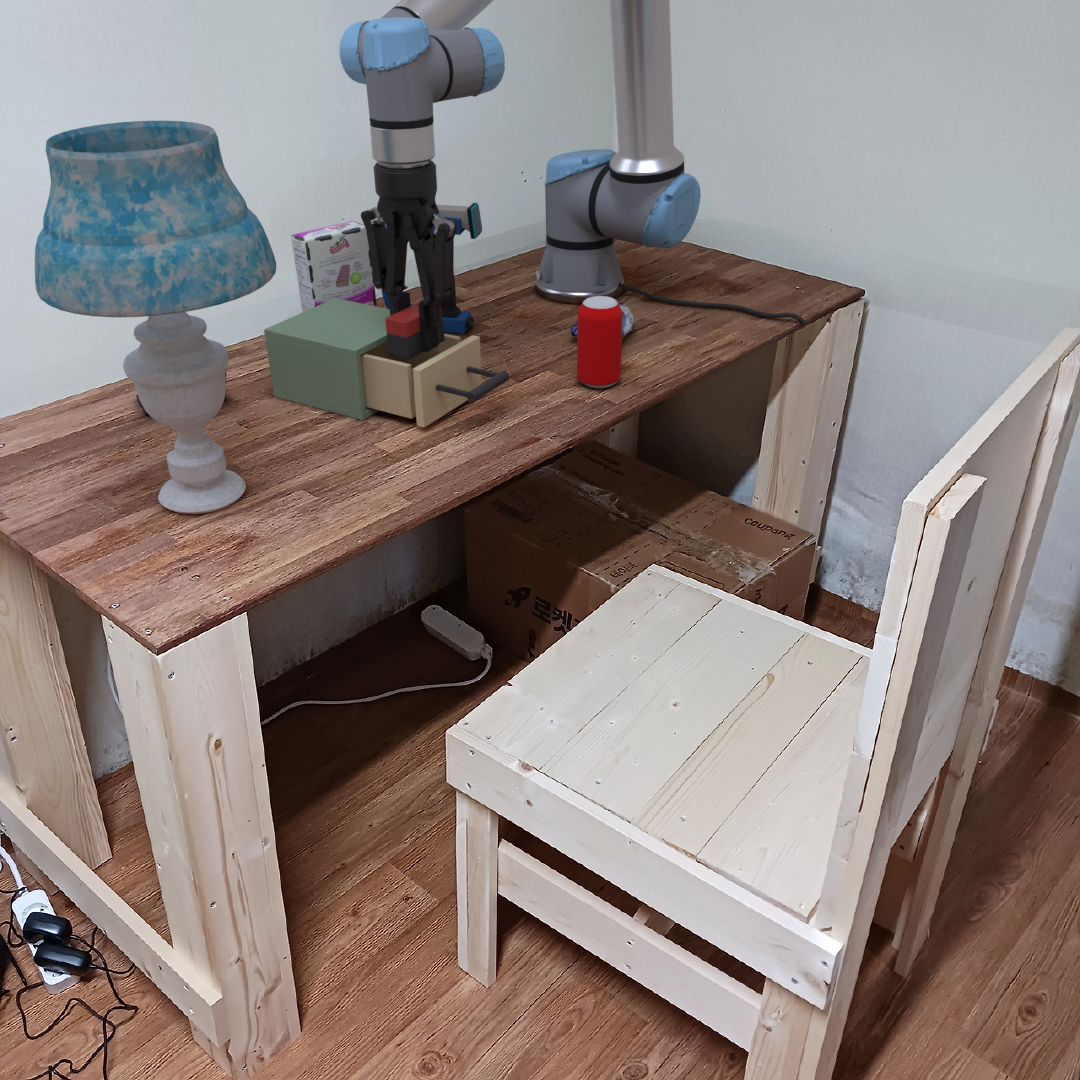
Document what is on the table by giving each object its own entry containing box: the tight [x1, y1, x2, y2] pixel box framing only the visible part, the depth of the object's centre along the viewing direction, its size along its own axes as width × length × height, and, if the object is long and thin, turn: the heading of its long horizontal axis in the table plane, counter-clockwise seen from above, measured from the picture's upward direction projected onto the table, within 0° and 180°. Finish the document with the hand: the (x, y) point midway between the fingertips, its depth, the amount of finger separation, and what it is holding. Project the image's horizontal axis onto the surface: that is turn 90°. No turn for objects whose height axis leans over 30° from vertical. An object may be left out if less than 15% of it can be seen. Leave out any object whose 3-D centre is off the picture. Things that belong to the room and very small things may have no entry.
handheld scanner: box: [380, 202, 483, 335], centre depth 166 cm, size 5×16×20 cm, turn 78°
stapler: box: [385, 302, 445, 360], centre depth 140 cm, size 8×3×5 cm, turn 149°
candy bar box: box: [290, 220, 378, 313], centre depth 166 cm, size 11×5×16 cm, turn 131°
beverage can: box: [576, 296, 623, 389], centre depth 149 cm, size 6×6×12 cm
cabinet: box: [263, 298, 390, 421], centre depth 148 cm, size 16×15×10 cm
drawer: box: [360, 333, 510, 428], centre depth 142 cm, size 21×14×8 cm, turn 59°
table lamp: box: [34, 120, 277, 515], centre depth 114 cm, size 24×24×40 cm
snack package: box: [570, 295, 635, 345], centre depth 166 cm, size 12×6×12 cm
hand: (417, 345), depth 141 cm, fingers closed on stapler, 3 cm apart
